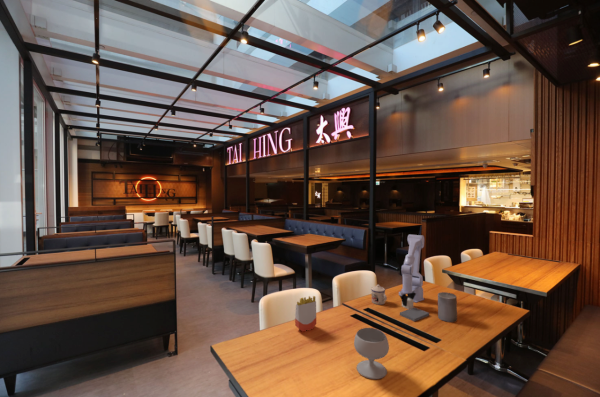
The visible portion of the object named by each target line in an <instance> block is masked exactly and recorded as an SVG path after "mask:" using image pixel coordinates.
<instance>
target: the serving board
mask: <svg viewBox="0 0 600 397" xmlns="http://www.w3.org/2000/svg"><path fill="white" fill-rule="evenodd" d="M399 316H400V317H403V318H405V319H408V320H410V321H412V322H417V321H420V320H422V319H424V318H426V317H429V316H430V312H428V311H425V310H424V309H423V310H422V309H420V308H417V307H415V306H413V308H410V309H406V310H403V311H401V312H399Z"/></svg>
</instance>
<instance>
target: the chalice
mask: <svg viewBox="0 0 600 397" xmlns="http://www.w3.org/2000/svg"><path fill="white" fill-rule="evenodd" d="M353 340H354V341H353V346H354V348H355V351H356V352H357V353H358V354H359V356H361V357H363V358H365V360H361V361H360V362H358V363H357V364H356V371H357V372H358V374H359V375H361V376H362V377H364V378H367V379H369V380H379V379H383V378H385V377H386V376H387V374H388V371H387V367H385V365H384V364H382V363H380V362H378V361H376V360H381V359H383V358H384V357H386V356H387V354H388V353H389V350H390V345H389V339H388V338H387V335H386V333H384V332H383V331H382V330H380V329H378V328H373V327H363V328H361V329H358V330H357V331H356V334H355V336H354V339H353Z"/></svg>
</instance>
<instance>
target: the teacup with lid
mask: <svg viewBox="0 0 600 397" xmlns="http://www.w3.org/2000/svg"><path fill="white" fill-rule="evenodd" d="M370 290H371V303H372V304H373V305H378V306H379V305H381V306H382V305H384V304H385V303H386V301H387V300H388V299H387V298H388V297H387V295H386V289H385V288H384V287H383V286H381V285H380V284H376V285H375V286H372V287H371V289H370Z"/></svg>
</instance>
